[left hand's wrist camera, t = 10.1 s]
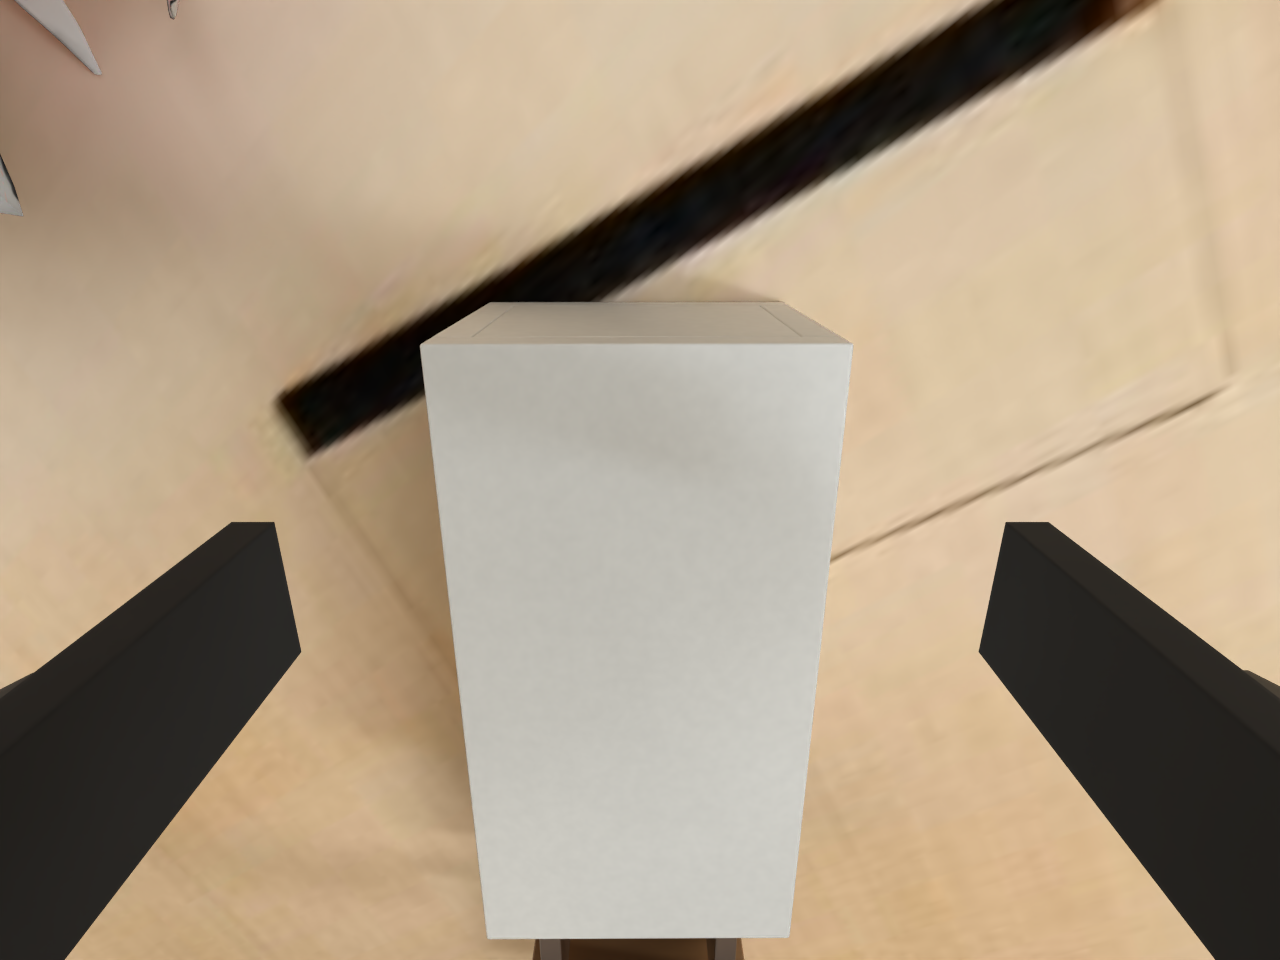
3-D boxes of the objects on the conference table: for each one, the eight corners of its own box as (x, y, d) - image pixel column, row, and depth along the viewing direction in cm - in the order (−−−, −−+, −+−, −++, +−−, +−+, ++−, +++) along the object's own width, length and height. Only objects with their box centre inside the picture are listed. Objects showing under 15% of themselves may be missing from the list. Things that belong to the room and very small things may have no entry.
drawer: (728, 978, 35) (746, 1133, 29) (548, 978, 35) (530, 1135, 29) (755, 554, 27) (790, 652, 21) (518, 555, 27) (484, 653, 21)
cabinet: (751, 758, 32) (789, 938, 24) (523, 758, 32) (486, 940, 24) (784, 301, 24) (854, 343, 17) (489, 302, 24) (418, 343, 16)
